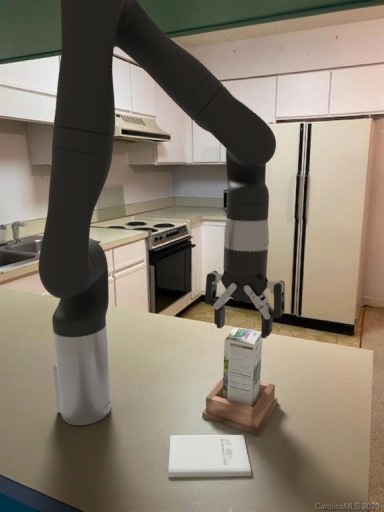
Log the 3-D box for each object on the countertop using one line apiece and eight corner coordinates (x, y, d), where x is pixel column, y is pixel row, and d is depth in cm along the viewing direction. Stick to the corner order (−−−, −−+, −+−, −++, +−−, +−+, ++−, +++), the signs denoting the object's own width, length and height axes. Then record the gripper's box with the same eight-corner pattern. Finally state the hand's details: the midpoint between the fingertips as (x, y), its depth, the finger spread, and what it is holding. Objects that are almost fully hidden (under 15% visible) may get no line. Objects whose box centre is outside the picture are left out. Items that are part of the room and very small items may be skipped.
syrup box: (231, 393, 77) (232, 326, 74) (260, 400, 75) (263, 331, 71) (221, 409, 72) (222, 338, 69) (252, 417, 70) (255, 343, 66)
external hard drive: (170, 442, 66) (243, 441, 66) (168, 480, 58) (250, 479, 58) (170, 434, 65) (243, 433, 66) (168, 471, 57) (251, 470, 58)
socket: (202, 417, 71) (202, 398, 70) (225, 387, 81) (226, 370, 80) (259, 436, 66) (260, 415, 65) (277, 402, 76) (278, 384, 75)
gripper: (199, 244, 66) (198, 331, 70) (280, 253, 60) (274, 349, 64) (217, 237, 73) (215, 317, 77) (292, 245, 66) (286, 332, 70)
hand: (242, 331), depth 70 cm, fingers open, 8 cm apart
